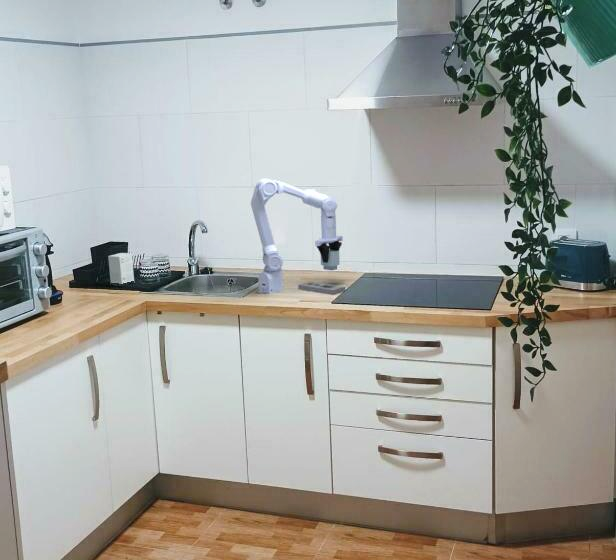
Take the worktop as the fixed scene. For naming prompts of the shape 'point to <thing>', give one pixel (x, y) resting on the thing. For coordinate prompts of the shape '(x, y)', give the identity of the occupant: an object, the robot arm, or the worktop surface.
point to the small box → (121, 268)
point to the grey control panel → (321, 288)
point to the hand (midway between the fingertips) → (329, 261)
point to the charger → (331, 260)
